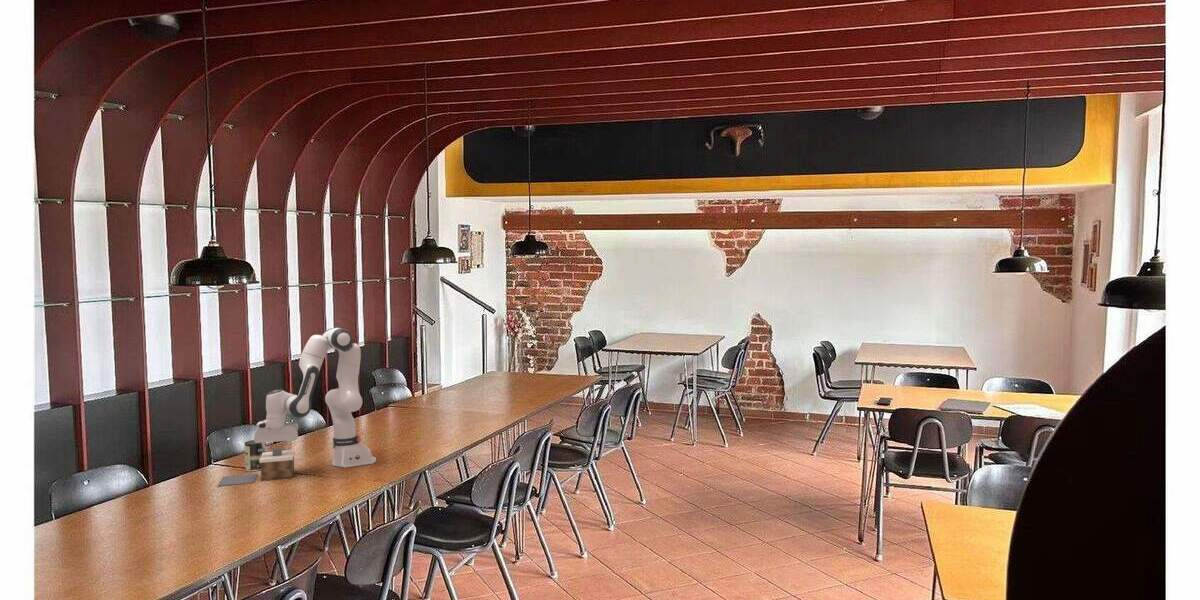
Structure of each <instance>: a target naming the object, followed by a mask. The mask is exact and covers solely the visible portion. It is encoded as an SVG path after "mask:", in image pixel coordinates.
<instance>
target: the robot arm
mask: <svg viewBox="0 0 1200 600" xmlns="http://www.w3.org/2000/svg"><path fill="white" fill-rule="evenodd" d="M330 349H333V350H337V351H338V362H337V367H336V368H337V369H336V376H335V378H336V380H337V383H338V388H333V389H330V390H329V391H328V392H327V393H326V394H325V397H324V401H325V404H326V405H327V407H328V409H329V412H330V415H331V420H332V427H333V437H332V448H333V455H332V461H331V466H333V467H340V468H352V467H353V468H354V467H361V466H366V465H373V464H375V463H376V462H377V457H375V456H373V455H372V450H371V448H369V447H368V446H366V445H365V444H363V443H362V442H361V441H362V440H361V437H360V436H359V435H356V434H357V433H356V432H357V431H356V420H355V418H354V416H353V414H352V413H354V412H357V411H359V410H360V409H361V407H362V406H363V398H362V396H361V394H360V388H359V373H360V367H361V360H362V359H361V354H362V353H361V347H360V345H359V344H357V343H356V342H354V339H353V336H352V334H351V332H350V331H349V329H345V328H341V327H334V328H332V327H331V328H328V329H326V330H325V331H324V332H323V333H321V334H313V335H311V336H310V338H309V339H308V340H307V342H306V344H305V345H304V348H303V350H302V352H301V355H300V357H299V361H298V366H299V368H300V370H301V372H302V375H303V377H302V378H303V379H302V383H301V385H300V388H299V391H298V395H297V394H294V393H289V392H287V391H285V390H283V389H273V390H271V391H269V392H268V393H267V394H266V397H265V411H266V417H265V419H263V420H261V421H258V422H257V423H256V429H255V431H254V434H253V435H254V437H253V440H254V442H255V443H262V446H263V447H264V451H266V452H269V447H268V446H267V445H266V446H265V442H266V443H274V442H276V443H277V442H287V444H286V445H284V451H287V450H289V446H290V444H291V441H297V440H298V438H299V433H298V430H299V423H298V422H296V421H286V415H287V414H289V415H292V416H294V417H295V418H299V419H300V418H304V417H306V416H308V414H310V412H311V409H312V397H313V394H314V390H315V388H316V386H317V385H316V384H317V381H318V378H319V374H320V370H321V367H322V364H323V362H324V359H325V357H326V354H327V352H328V351H329V350H330Z"/></svg>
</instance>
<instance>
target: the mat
mask: <svg viewBox="0 0 1200 600" xmlns="http://www.w3.org/2000/svg"><path fill="white" fill-rule="evenodd" d="M258 474H259V473H249V474H239V475H228V476H226V475H225V476H222V477H221V479H220V481H218V484H217V487H225V486H226V487H227V486H236V485H246V484H247V485H248V484H254V483H255V481H256V479H257V478H258Z"/></svg>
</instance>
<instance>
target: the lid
mask: <svg viewBox="0 0 1200 600" xmlns="http://www.w3.org/2000/svg"><path fill="white" fill-rule="evenodd" d="M295 453H296V452H295V449H290V450H289V449H288V450H283V447H273V448H272V451H266V452H263V453H262V455H261V457H260V460H259V463H264V462H275V461H287V460H293V457H294V458H295Z"/></svg>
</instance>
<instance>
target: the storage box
mask: <svg viewBox="0 0 1200 600" xmlns="http://www.w3.org/2000/svg"><path fill="white" fill-rule="evenodd" d="M294 472H295V456H294V457H293V460H287V461H275V462H264V463H261V470H260V474H261V475H260V476H261V477H260V478H261V481H271V480H283V479H293V476H294Z"/></svg>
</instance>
